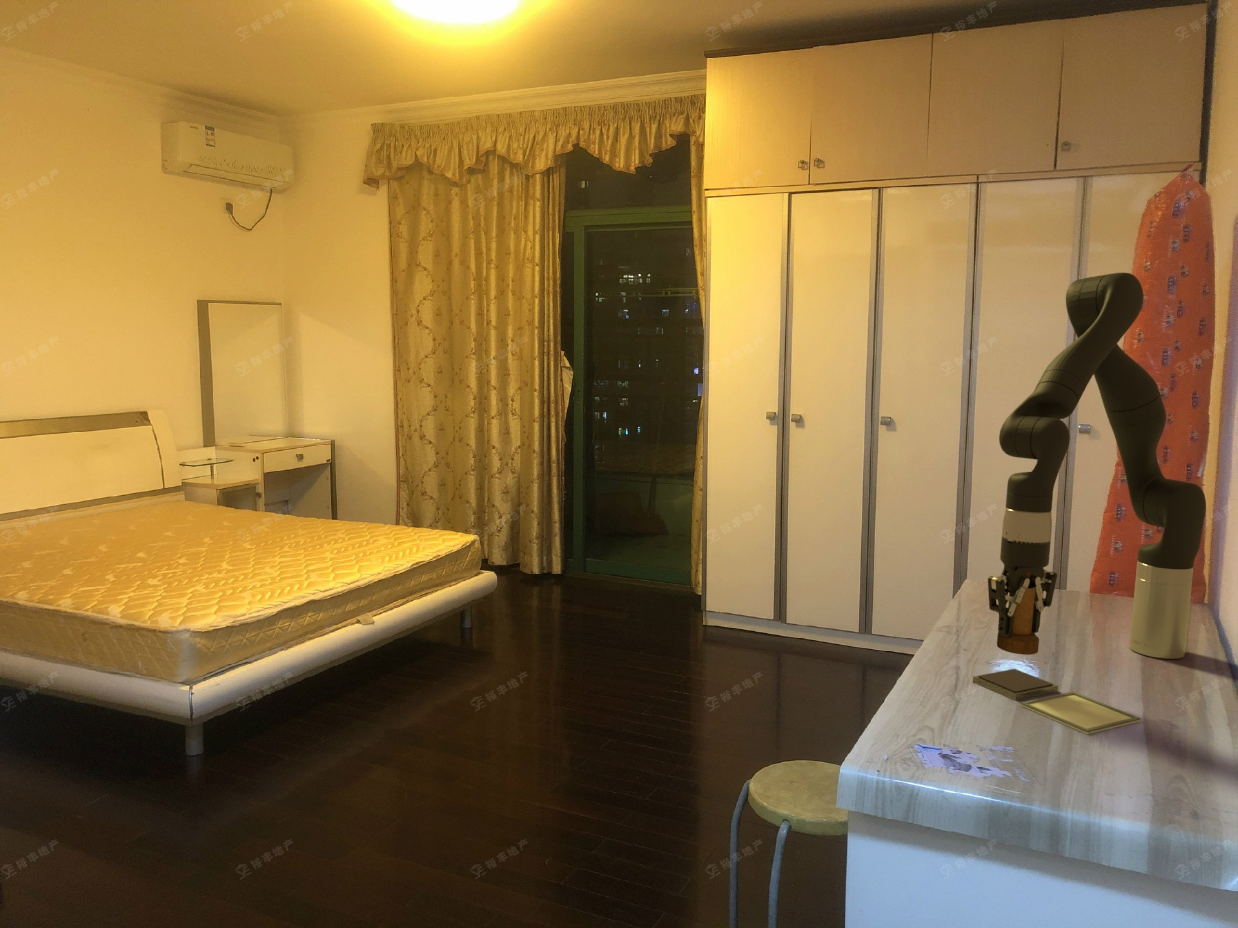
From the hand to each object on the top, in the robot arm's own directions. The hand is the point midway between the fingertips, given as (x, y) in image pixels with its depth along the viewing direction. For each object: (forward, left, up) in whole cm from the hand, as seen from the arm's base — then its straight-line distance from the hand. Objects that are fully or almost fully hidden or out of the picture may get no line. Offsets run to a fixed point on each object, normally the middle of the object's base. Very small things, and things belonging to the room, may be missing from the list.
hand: (1018, 633), depth 158 cm
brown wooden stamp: (0, 0, -3) cm, 3 cm away
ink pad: (0, 0, -9) cm, 9 cm away
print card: (0, +13, -9) cm, 16 cm away
